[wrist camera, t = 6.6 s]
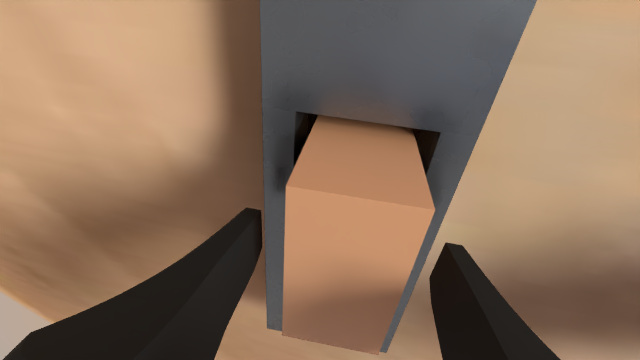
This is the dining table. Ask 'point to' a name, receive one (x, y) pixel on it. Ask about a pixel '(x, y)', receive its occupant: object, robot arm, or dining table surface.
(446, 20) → the slate rail
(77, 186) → the dining table surface
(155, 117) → the dining table surface
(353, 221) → the tan orange block
